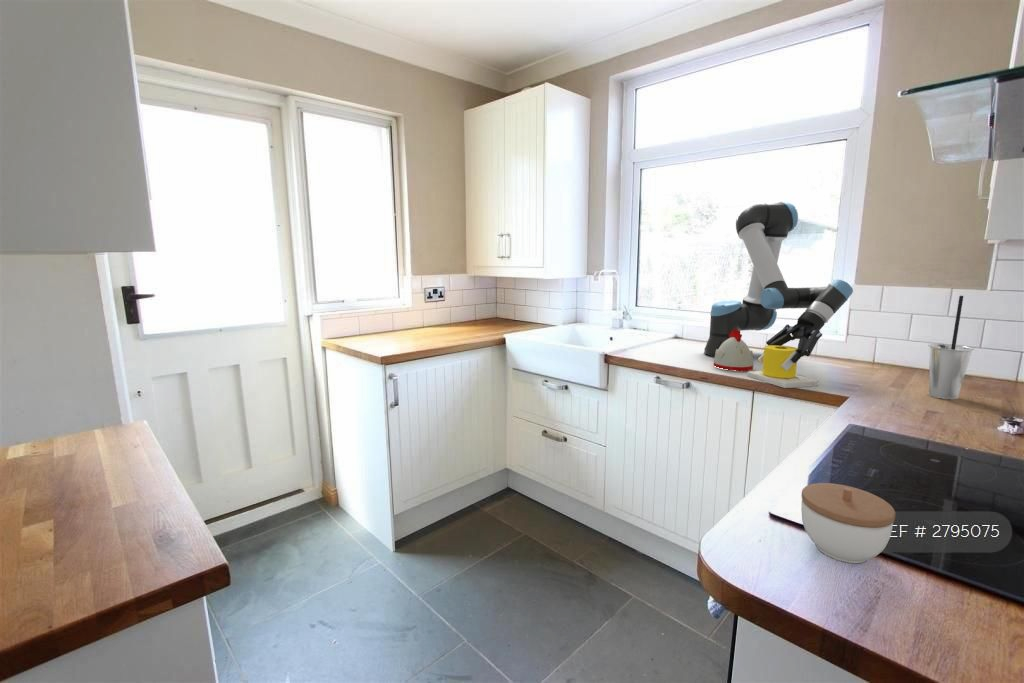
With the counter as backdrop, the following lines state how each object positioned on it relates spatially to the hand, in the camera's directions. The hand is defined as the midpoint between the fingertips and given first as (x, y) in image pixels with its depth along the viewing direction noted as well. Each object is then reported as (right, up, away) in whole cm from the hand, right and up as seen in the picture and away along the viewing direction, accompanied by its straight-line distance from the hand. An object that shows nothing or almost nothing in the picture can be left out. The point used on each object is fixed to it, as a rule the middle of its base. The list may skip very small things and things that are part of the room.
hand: (771, 364), depth 161 cm
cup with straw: (+41, -9, -20) cm, 46 cm away
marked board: (+3, -5, 0) cm, 6 cm away
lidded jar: (-42, -22, -94) cm, 105 cm away
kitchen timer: (-4, -2, +21) cm, 21 cm away
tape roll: (+3, -4, +1) cm, 5 cm away
